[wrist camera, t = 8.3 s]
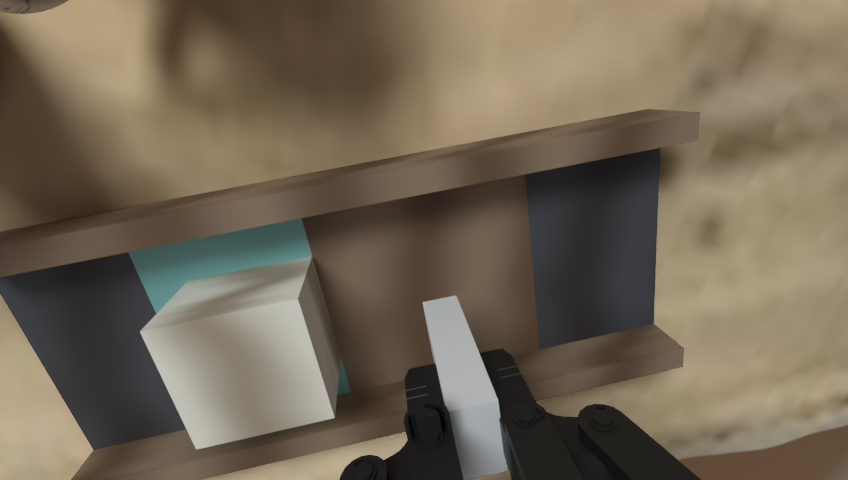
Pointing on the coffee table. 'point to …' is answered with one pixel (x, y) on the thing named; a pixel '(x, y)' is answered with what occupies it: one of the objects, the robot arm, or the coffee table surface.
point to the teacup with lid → (28, 5)
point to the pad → (221, 261)
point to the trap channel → (372, 283)
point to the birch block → (247, 352)
